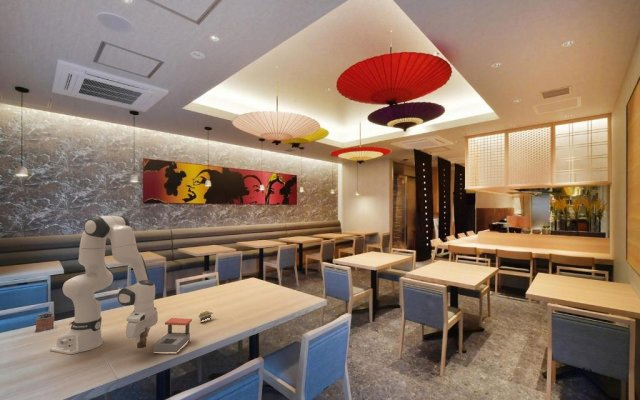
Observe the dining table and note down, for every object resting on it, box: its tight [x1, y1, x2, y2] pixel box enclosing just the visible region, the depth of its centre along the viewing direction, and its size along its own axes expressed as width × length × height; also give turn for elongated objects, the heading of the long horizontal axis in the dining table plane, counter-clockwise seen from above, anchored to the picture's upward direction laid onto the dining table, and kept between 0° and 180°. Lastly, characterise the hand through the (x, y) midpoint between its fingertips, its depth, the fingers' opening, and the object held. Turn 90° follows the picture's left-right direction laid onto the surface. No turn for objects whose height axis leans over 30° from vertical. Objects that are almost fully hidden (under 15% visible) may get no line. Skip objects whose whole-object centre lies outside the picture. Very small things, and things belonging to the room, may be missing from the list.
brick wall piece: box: [35, 312, 55, 333], centre depth 173 cm, size 8×3×10 cm, turn 135°
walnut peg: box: [136, 327, 148, 349], centre depth 149 cm, size 4×4×10 cm
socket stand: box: [152, 317, 193, 352], centre depth 156 cm, size 12×16×12 cm
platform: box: [198, 310, 214, 322], centre depth 191 cm, size 12×18×7 cm, turn 147°
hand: (142, 339), depth 149 cm, fingers closed on walnut peg, 4 cm apart
